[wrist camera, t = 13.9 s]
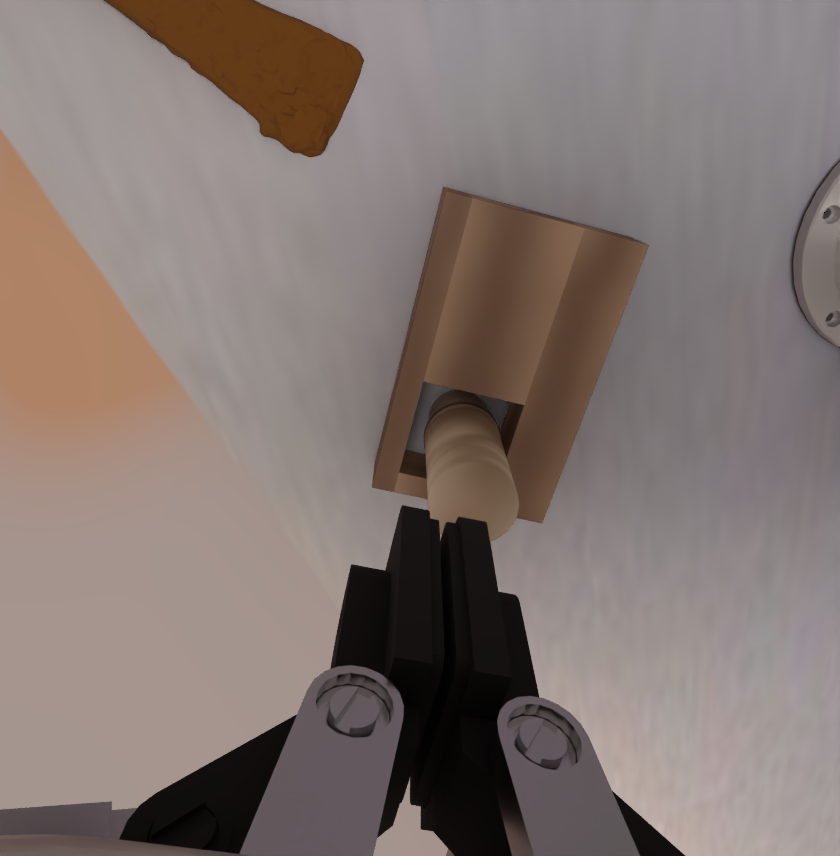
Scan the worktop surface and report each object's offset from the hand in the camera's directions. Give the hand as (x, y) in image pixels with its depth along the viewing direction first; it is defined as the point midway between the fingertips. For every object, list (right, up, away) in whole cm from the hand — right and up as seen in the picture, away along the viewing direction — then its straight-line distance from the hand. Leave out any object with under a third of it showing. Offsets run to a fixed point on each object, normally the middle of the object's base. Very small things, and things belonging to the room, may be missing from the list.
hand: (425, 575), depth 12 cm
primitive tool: (-12, +23, +17) cm, 31 cm away
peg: (+2, +4, +25) cm, 25 cm away
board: (+4, +7, +23) cm, 25 cm away
